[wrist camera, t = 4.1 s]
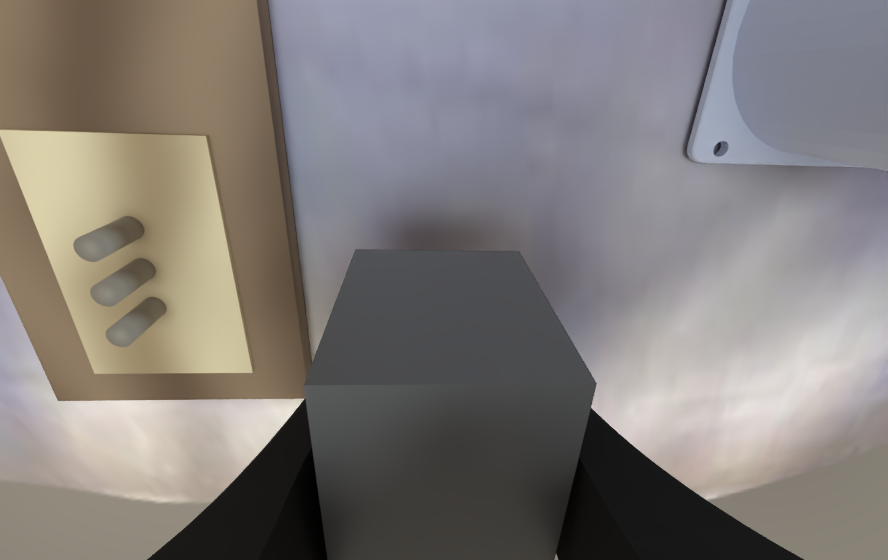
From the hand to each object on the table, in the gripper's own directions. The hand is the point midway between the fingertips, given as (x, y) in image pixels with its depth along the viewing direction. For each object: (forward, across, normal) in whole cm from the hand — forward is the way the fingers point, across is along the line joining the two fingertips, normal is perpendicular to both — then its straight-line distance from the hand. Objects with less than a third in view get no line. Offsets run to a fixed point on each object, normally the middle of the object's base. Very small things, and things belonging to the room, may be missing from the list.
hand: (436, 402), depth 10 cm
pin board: (+7, +10, -6) cm, 13 cm away
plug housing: (+1, 0, 0) cm, 1 cm away
